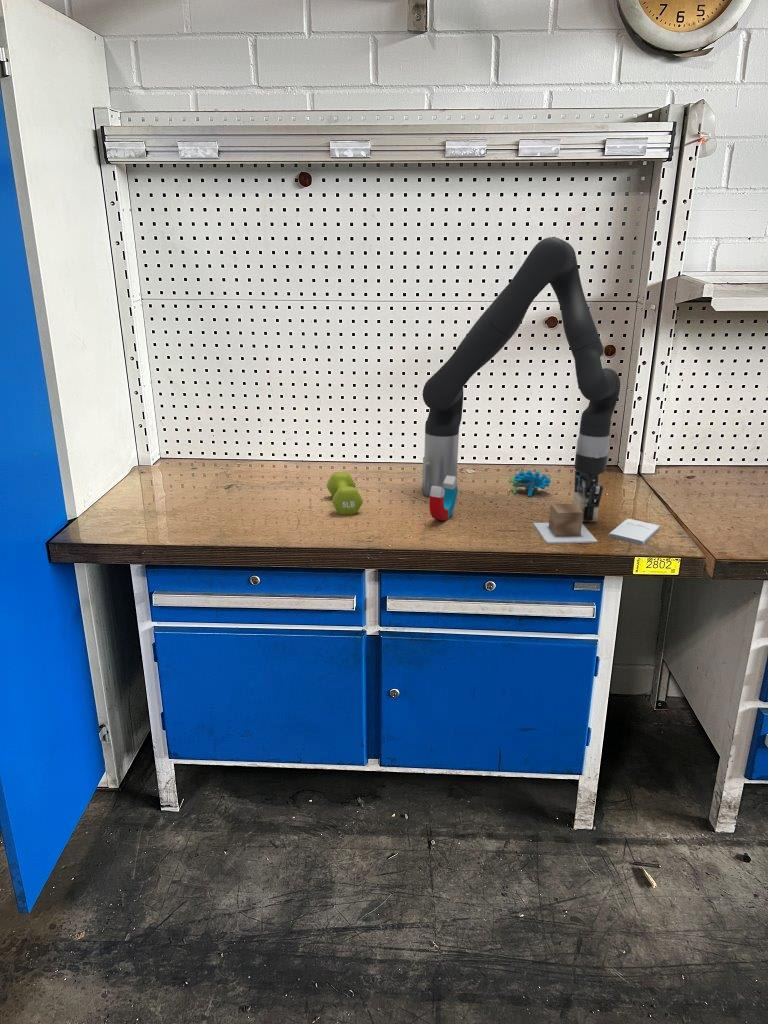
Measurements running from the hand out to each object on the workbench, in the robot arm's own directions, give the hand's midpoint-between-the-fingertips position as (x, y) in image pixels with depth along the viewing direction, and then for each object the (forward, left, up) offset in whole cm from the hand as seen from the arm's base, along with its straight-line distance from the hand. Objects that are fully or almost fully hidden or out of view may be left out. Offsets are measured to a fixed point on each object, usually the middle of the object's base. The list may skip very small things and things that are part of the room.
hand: (584, 516), depth 176 cm
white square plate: (-8, -9, -1) cm, 12 cm away
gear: (-9, +21, -1) cm, 23 cm away
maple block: (0, 0, 0) cm, 0 cm away
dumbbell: (-61, +13, -1) cm, 62 cm away
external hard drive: (+9, -10, -2) cm, 13 cm away
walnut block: (-8, -9, 0) cm, 12 cm away
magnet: (-36, +2, -1) cm, 36 cm away
